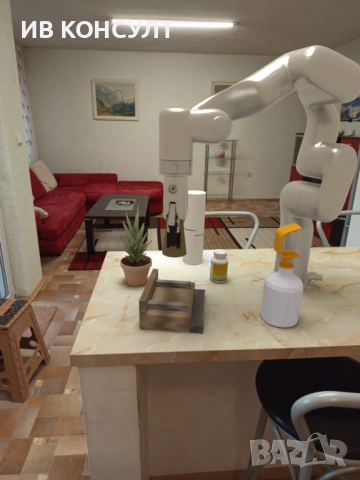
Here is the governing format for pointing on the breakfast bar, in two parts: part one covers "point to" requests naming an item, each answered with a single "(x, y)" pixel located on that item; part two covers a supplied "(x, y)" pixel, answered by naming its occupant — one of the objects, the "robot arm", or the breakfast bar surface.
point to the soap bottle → (282, 286)
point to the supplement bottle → (219, 266)
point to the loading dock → (171, 305)
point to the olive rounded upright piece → (173, 249)
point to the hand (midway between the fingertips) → (174, 244)
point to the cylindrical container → (194, 227)
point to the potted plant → (135, 254)
